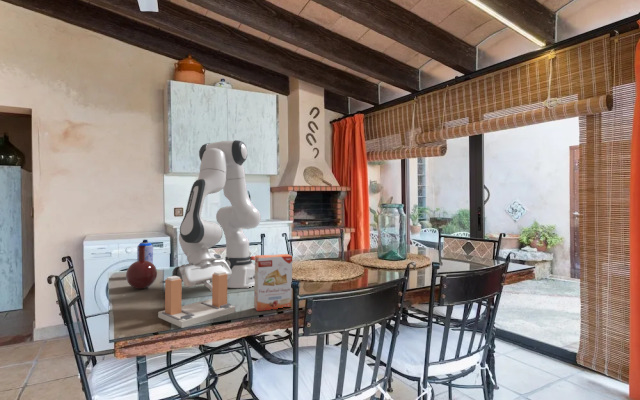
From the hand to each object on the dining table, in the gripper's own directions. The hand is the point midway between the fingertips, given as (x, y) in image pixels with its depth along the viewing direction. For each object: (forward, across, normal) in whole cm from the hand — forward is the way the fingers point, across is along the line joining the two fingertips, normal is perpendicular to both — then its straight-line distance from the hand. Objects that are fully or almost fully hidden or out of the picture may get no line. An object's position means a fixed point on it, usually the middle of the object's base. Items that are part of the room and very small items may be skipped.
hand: (215, 290), depth 142 cm
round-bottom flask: (-32, -4, +43) cm, 53 cm away
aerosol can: (-47, +8, +58) cm, 75 cm away
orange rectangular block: (+2, -16, +6) cm, 17 cm away
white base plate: (+6, -8, +5) cm, 11 cm away
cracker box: (+16, +16, -6) cm, 24 cm away
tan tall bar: (+6, 0, +2) cm, 6 cm away
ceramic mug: (-34, +18, +45) cm, 59 cm away
